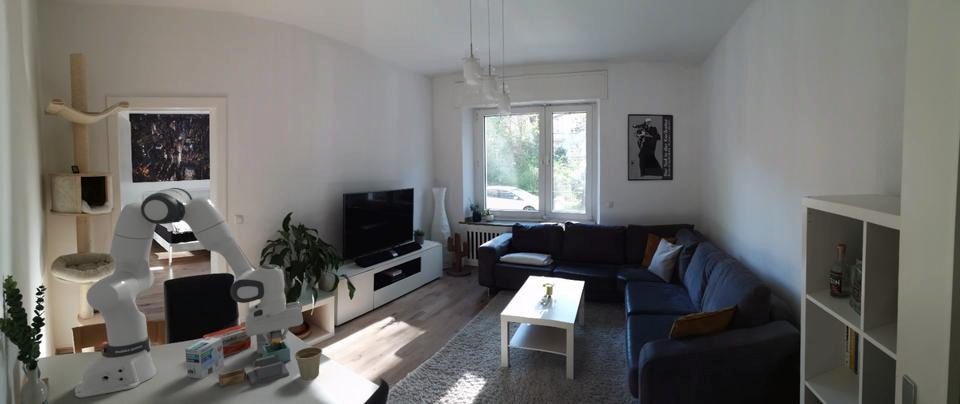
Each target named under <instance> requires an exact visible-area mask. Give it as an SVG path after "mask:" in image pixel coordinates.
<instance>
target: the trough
mask: <svg viewBox="0 0 960 404" xmlns="http://www.w3.org/2000/svg"><path fill="white" fill-rule="evenodd" d="M247 376H248V375H247V371H246V369H245V367H243V368H240V369H236V370H231V371H228V372H224V373H219V374H218V381H219V385H220V388H224V387H227V386H231V385H234V384H239V383H242V382H245V381H247V380H248V377H247Z"/></svg>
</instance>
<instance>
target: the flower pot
mask: <svg viewBox="0 0 960 404" xmlns="http://www.w3.org/2000/svg"><path fill="white" fill-rule="evenodd" d="M322 353H323V349H322V348H321V347H318V346H310V347H305V348H301V349H299V350H297V351H296V352H295V353H294V354H293V356H294V358H295V360H296V363H297V365H298V371H299V376H300V378H301V379H305V380H310V379H314V378H316V377H317V376H319V374H320V364H321V358H322V357H321V356H322Z"/></svg>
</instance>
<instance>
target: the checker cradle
mask: <svg viewBox="0 0 960 404" xmlns="http://www.w3.org/2000/svg"><path fill="white" fill-rule="evenodd" d="M247 376H248V378H249V380H250V383H251V385H252V386H255V385H258V384H263V383H266V382H270V381H273V380H276V379H279V378H283V377H288V376H290V372H289V370H288V369H287V367H286V365H285V362H284V363H282V362H278V355H270V356H266V357H263V356H262V357H258V358H256V359H255V360H253V370H251V371H247Z"/></svg>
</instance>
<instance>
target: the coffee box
mask: <svg viewBox="0 0 960 404" xmlns="http://www.w3.org/2000/svg"><path fill="white" fill-rule="evenodd" d="M280 330H281V334H283V329H280ZM255 337H256V338H255V339H256V347H257V348H256V349H257V354H263V348H262V346H266V345H270V343H267V344H266V339H265V338H264V337H263V335H262V334H258V335H255ZM266 337H270V332H267V335H266ZM283 341H284V340H282V342H283Z"/></svg>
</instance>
